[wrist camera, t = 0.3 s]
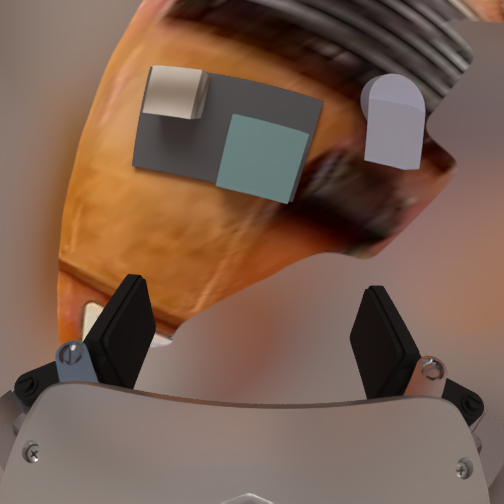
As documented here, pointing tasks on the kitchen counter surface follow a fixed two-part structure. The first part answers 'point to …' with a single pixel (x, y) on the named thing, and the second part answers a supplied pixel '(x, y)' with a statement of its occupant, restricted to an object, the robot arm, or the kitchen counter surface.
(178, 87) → the cream cube
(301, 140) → the plinth
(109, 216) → the kitchen counter surface
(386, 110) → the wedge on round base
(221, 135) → the mat
